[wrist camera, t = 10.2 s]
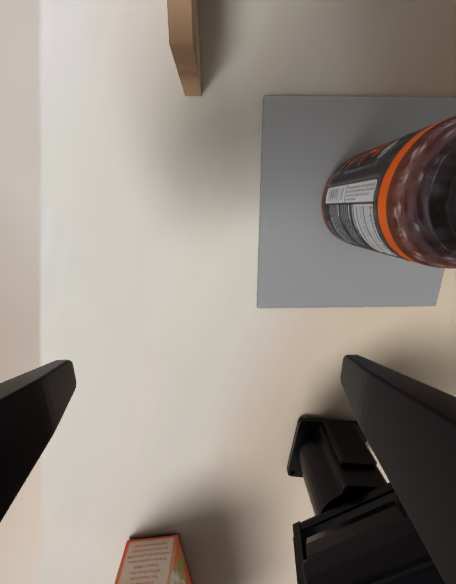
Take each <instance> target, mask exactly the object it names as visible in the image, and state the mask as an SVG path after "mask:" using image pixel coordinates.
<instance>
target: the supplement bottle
mask: <svg viewBox="0 0 456 584" xmlns="http://www.w3.org/2000/svg"><path fill="white" fill-rule="evenodd" d="M321 209H322V215H323V219H324V222H325V224H326V226H327V228H328V229H329V231H330V232H331V233H332V234H333V235H334V236H335V237H337V238H338V239H339V240H341V241H343V242H345V243H348V244H351V245H353V246H357V247H361V248H364V249H368V250H371V251H375V252H378V253H382V254H385V255H389V256H393V257H396V258H400V259H403V260H406V261H411V262H415V263H418V264H422V265H426V266H430V267H436V268H456V116H454V117H450V118H448V119H446V120H443V121H441V122H438V123H436V124H432V125H429V126H427V127H425V128H423V129H420V130H417V131H415V132H412V133H410V134H407V135H405V136H403V137H401V138H398V139H395V140H393V141H391V142H388V143H385V144H383V145H380V146H378V147H375V148H373V149H371V150H368V151H365V152H363V153H360V154H358V155H355V156H354V157H352V158H351V159H349V160H347V161H346V162H345V163H343V164H342V165H341V166H340V167H339V168H338V169H337V170H336V171H335V172H334V173H333V174H332V176H331V177H330V178H329V180H328V182H327V184H326V186H325V189H324V192H323V196H322V205H321Z"/></svg>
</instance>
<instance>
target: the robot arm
mask: <svg viewBox="0 0 456 584" xmlns="http://www.w3.org/2000/svg"><path fill="white" fill-rule="evenodd" d="M341 383H342V386H343V388H344V391H345V393H346V395H347V398H348V400H349V403H350V405H351V407H352V410H353V412H354V415H355V417H356V419H357V421H358V422H353V421H341V420H328V419H316V418H301V419H299V421H298V424H297V428H296V432H295V436H294V440H293V445H292V449H291V453H290V457H289V461H288V465H287V472H288V475H289V476H294V477H303V478H304V481H305V484H306V487H307V491H308V494H309V497H310V500H311V504H312V507H313V510H314V513H315V516H314V517H312V518H309V519H307V520H305V521H303V522H300V521H299V522H297V523H294V524H293V533H294V537H293V541H294V552H295V562H296V573H297V583H298V584H456V397H454V396H452V395H450V394H447V393H445V392H443V391H440V390H438V389H436V388H433V387H431V386H429V385H426V384H424V383H422V382H419V381H417V380H415V379H412V378H410V377H408V376H405V375H403V374H401V373H399V372H396V371H394V370H392V369H389V368H387V367H385V366H382V365H380V364H378V363H375V362H373V361H371V360H368V359H366V358H364V357H361V356H359V355H346V356H344V358H343V364H342V371H341ZM75 388H76V378H75V373H74V368H73V364H72V362H71V361H70V360H56V361H53V362H51V363H49V364H46V365H44V366H41V367H39V368H37V369H34V370H32V371H29V372H27V373H24V374H22V375H20V376H17V377H15V378H12V379H10V380H7V381H5V382H3V383H0V522H1V520H2V519H3V517H4V516H5V514H6V512H7V510H8V509H9V507H10V505H11V504H12V502H13V501H14V499H15V497H16V496H17V494H18V492H19V491H20V489H21V487H22V486H23V484H24V482H25V481H26V479H27V477H28V476H29V474H30V472H31V471H32V469H33V467H34V466H35V464H36V462H37V461H38V459H39V457H40V456H41V454H42V452H43V451H44V449H45V448H46V446H47V444H48V443H49V441H50V439H51V437H52V436H53V434H54V432H55V430H56V428H57V426H58V424H59V422H60V420H61V418H62V416H63V414H64V412H65V410H66V407H67V405H68V403H69V401H70V399H71V397H72V395H73V393H74V391H75ZM304 423H305V424H304ZM366 440H367V441H368V443H369V444H370V446H371V448H372V450H373V452H374V454H375V455H376V457H377V459H378V461H379V463H380V465H381V466H382V468H383V470H384V472H385V474H386V476H387V477H388V479H389V481H390V483H387V482H386V480H385V479H384V477H383V475H382V474H381V472H380V470H379V469H378V467H377V465H376V464H377V462H376V460H375V458H374V457H373V455H372V454H371V452H370V450H369V449H368V447H367V446H366V444H365V443H366Z"/></svg>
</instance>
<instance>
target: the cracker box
mask: <svg viewBox="0 0 456 584" xmlns="http://www.w3.org/2000/svg"><path fill="white" fill-rule="evenodd" d="M115 584H192V582H191V578H190V575H189V571H188V568H187V564H186V561H185V557H184V554H183V551H182V547H181V544H180V540H179V537H178V535H171V536H162V537H153V538H144V539H135V540H128V541H127V543H126V546H125V550H124V553H123V556H122V560H121V563H120V567H119V570H118V573H117V577H116V581H115Z"/></svg>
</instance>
